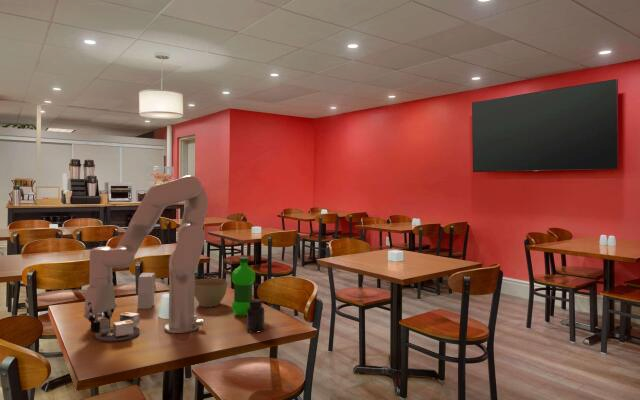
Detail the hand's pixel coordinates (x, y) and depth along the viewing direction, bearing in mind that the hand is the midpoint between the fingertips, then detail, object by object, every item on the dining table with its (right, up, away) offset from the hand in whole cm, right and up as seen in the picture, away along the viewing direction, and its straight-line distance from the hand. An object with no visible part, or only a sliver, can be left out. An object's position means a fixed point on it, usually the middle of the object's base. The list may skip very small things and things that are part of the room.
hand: (100, 329), depth 168 cm
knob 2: (+10, -1, -3) cm, 10 cm away
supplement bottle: (+56, -3, +10) cm, 57 cm away
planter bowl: (+29, -1, +46) cm, 54 cm away
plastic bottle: (+47, -2, +31) cm, 57 cm away
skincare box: (+2, -1, +40) cm, 40 cm away
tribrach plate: (+6, -2, +1) cm, 6 cm away
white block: (0, -1, 0) cm, 1 cm away
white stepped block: (+8, -1, +7) cm, 10 cm away
